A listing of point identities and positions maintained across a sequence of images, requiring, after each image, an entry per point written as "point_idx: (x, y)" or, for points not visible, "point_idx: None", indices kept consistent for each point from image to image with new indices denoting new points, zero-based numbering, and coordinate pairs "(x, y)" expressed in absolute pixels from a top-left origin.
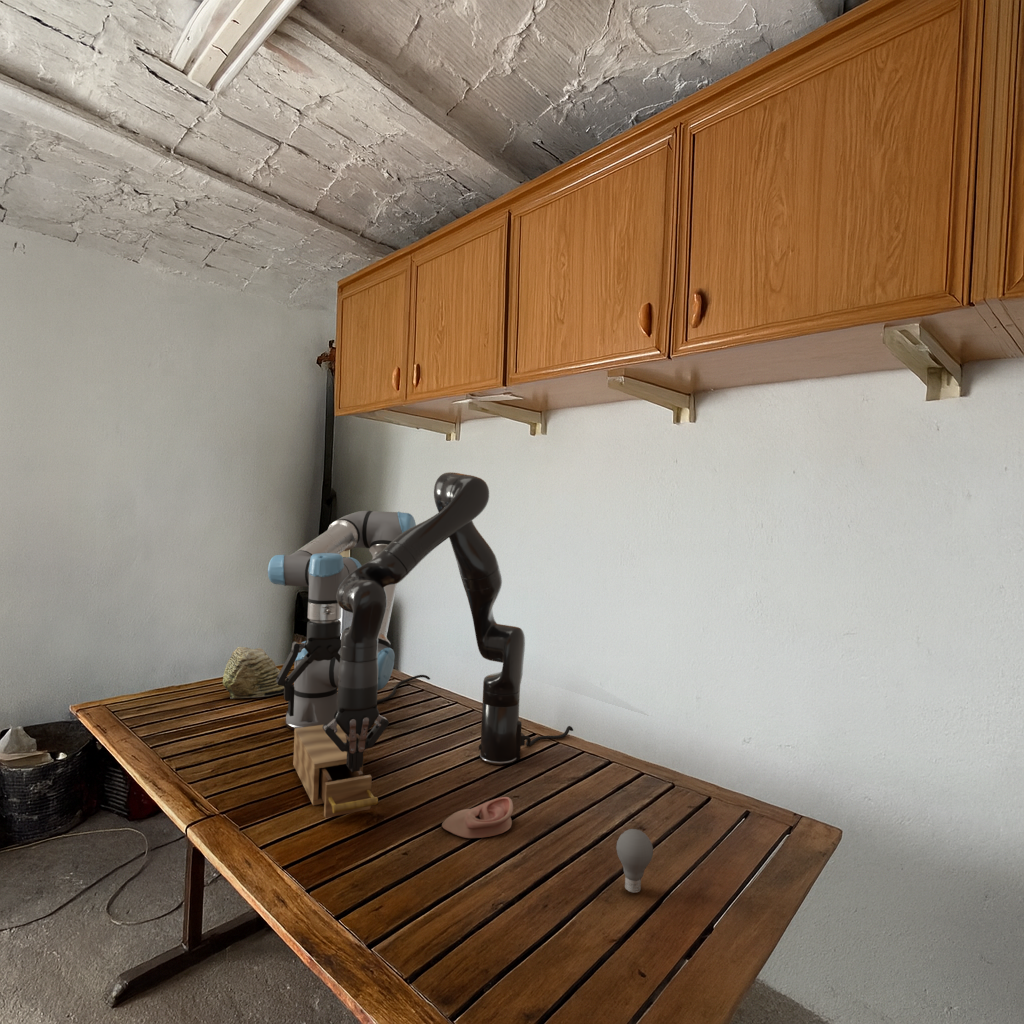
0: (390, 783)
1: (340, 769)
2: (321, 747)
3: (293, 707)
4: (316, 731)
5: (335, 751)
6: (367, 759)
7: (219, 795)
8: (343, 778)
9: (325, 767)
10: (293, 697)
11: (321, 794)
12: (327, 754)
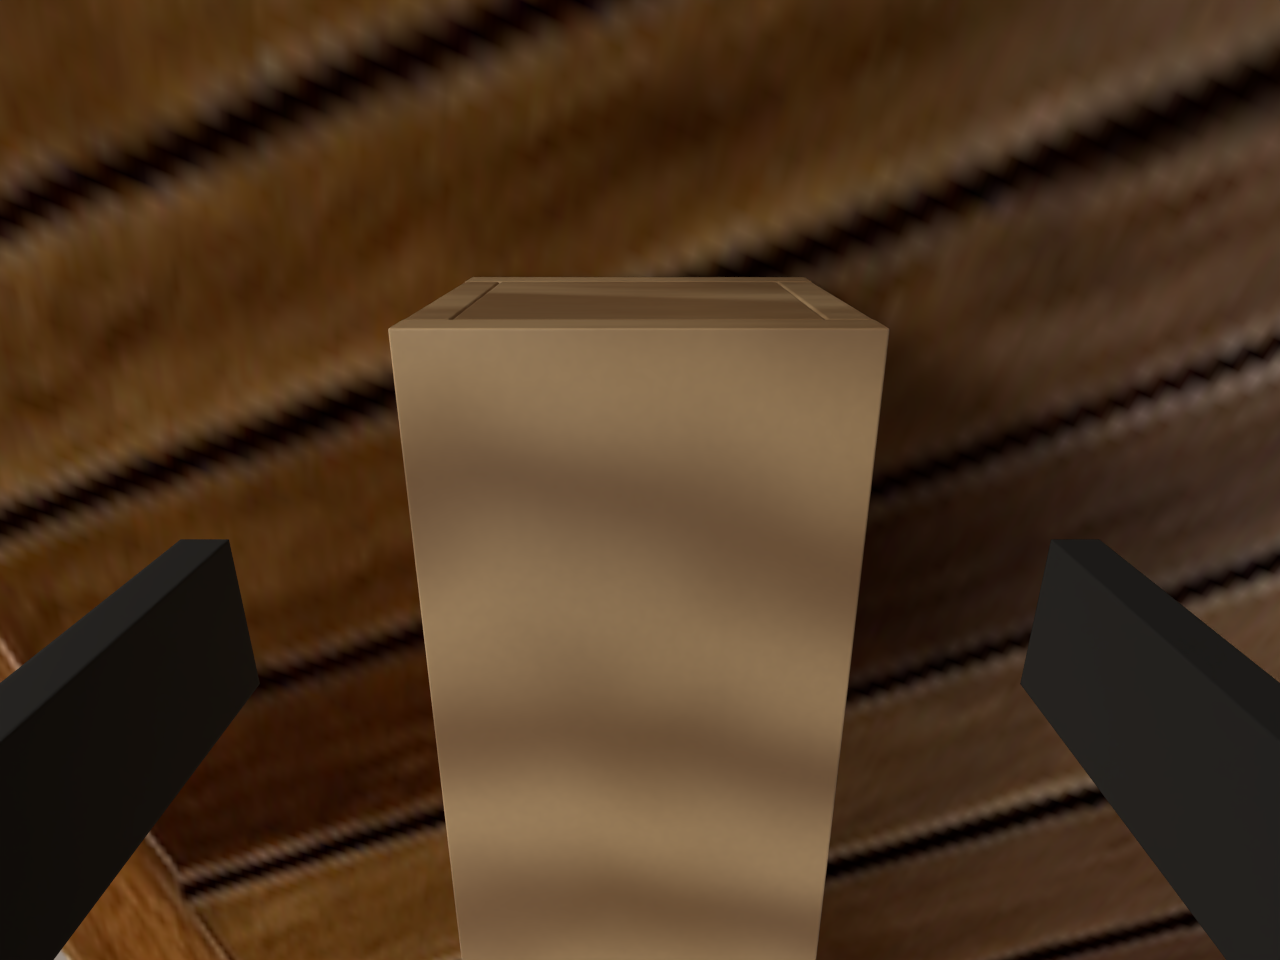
0: (958, 756)
1: None
2: (567, 842)
3: (195, 761)
4: (598, 506)
5: (650, 932)
6: (995, 395)
7: (20, 553)
8: None
9: None
10: (85, 898)
11: None
12: (582, 957)
